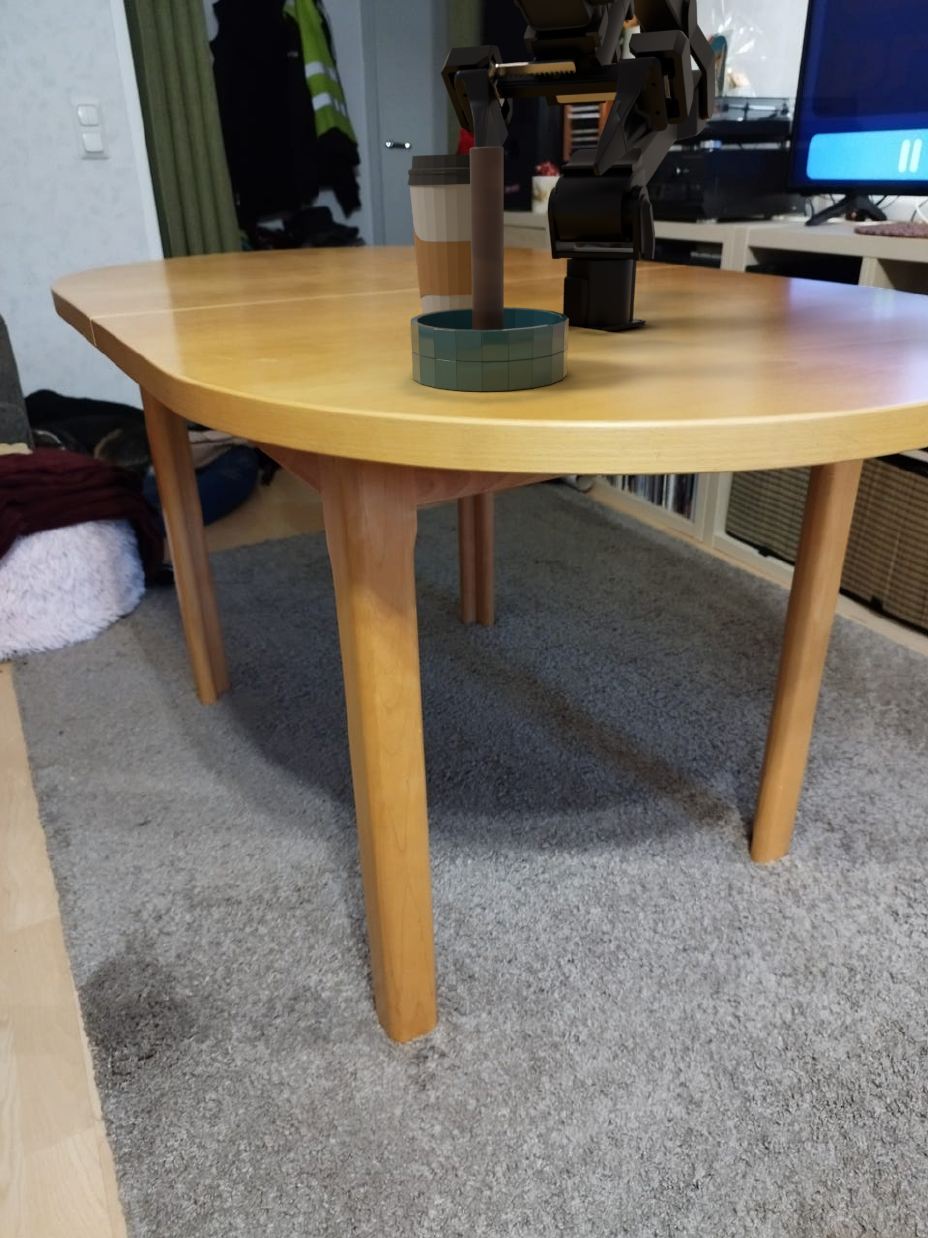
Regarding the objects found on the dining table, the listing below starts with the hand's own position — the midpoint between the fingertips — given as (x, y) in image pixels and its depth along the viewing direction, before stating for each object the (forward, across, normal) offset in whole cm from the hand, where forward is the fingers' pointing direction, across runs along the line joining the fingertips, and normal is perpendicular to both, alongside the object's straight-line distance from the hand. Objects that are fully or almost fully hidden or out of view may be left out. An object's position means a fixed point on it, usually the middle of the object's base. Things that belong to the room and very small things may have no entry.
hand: (536, 171), depth 66 cm
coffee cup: (+2, -12, +17) cm, 21 cm away
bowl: (+16, 0, +3) cm, 16 cm away
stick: (+16, 0, +3) cm, 16 cm away
